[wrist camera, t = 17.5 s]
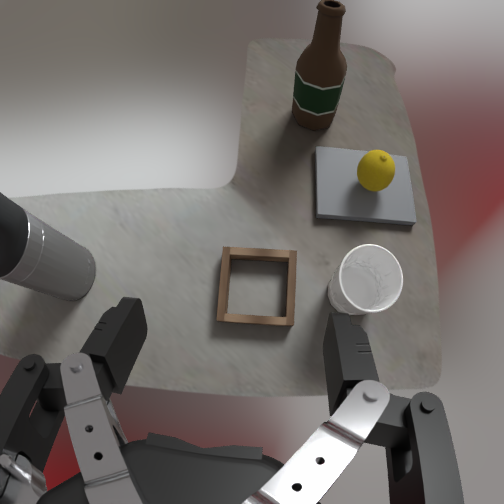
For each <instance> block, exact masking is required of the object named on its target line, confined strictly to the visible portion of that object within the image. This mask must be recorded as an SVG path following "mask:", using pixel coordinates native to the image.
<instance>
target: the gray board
mask: <svg viewBox="0 0 504 504" xmlns="http://www.w3.org/2000/svg"><path fill="white" fill-rule="evenodd" d="M367 153H368V151H360V150H351V149H342V148H331V147H320V146H316V149H315V172H316V218H326V219H340V220H353V221H366V222H379V223H390V224H402V225H412V226H413V225H414V224H415V223H416V214H415V206H414V199H413V192H412V185H411V179H410V173H409V167H408V162H407V157H404V156H397V155H390V154H389V155H390V156H391V157H392V159H393V161H394V163H395V175H394V178H393V180H392V182H391V183H390V184H389V186H388V187H387V188H385V189H383V190H381V191H369V190H367V189H365V188H364V187H363V186H362V185H361V184H360V182H359V180H358V177H357V167H358V164H359V162H360V160H361V159H362V157H363V156H364V155H365V154H367Z"/></svg>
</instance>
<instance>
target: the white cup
mask: <svg viewBox="0 0 504 504" xmlns="http://www.w3.org/2000/svg"><path fill="white" fill-rule="evenodd" d="M402 285H403V275H402V270H401V267H400V265H399V263H398V261H397V259H396V258H395V257H394V255H393V254H392V253H391V252H389V251H388V250H387V249H385V248H383V247H381V246H378V245H373V244H365V245H361V246H358V247H356V248H354V249H352V250H351V251H350V252H349V253H348V254H347V255H346V256H345V258H344V259H343V261H342V262H341V263H340V265H339V266H338V268H337V269H336V271H335V272H334V274H333V276H332V279H331V280H330V282H329V284H328V297H329V300H330V303H331V305H332V306H333V307H334V308H335V309H336V310H337V311H338V312H340V313H348V314H349V315H363V314H369V313H375V312H380V311H383V310H386V309H387V308H389V307H390V306H392V305H393V304H394V303H395V301H396V300H397V299H398V297H399V295H400V293H401V290H402Z"/></svg>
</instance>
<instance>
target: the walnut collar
mask: <svg viewBox="0 0 504 504" xmlns="http://www.w3.org/2000/svg"><path fill="white" fill-rule="evenodd" d="M232 259H241V260H259V261H277V262H288V272H287V293H286V313H285V317H272V316H255V315H240V314H227V308H228V295H229V283H230V271H231V260H232ZM296 261H297V251H293V250H275V249H256V248H238V247H223V253H222V263H221V274H220V285H219V296H218V308H217V321H219V322H230V323H244V324H259V325H277V326H293V325H294V310H295V288H296Z"/></svg>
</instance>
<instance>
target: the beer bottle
mask: <svg viewBox="0 0 504 504" xmlns="http://www.w3.org/2000/svg"><path fill="white" fill-rule="evenodd" d="M317 9H318V10H319V11H318V16H317V21H316V25H315V31H314V35H313V39H312V42H311V44H309V45H308V46H307V47H306V49H305V50H304V51H303V53H302V54H301V56H300V58H299V59H298V61H297V65H296V71H295V83H294V94H293V104H292V113H293V115H294V116H295V118H296V120H297V122H298V124H299V125H301V126H303V127H306V128H308V129H311V130H313V131H315V130H319V129H324V128H328V127H329V126H330V124H331V122H332V120H333V118H334V116H335V113H336V110H337V107H338V103H339V99H340V95H341V92H342V88H343V84H344V80H345V76H346V70H347V64H346V59H345V57H344V55H343V54H342V52H341V51H340V35H341V26H342V16H343V15H344V13H345V12H346V11H345V6H344V5H343V4H341V3H340V2H338V1H334V0H321V1H320V2H319V4H318V6H317Z"/></svg>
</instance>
